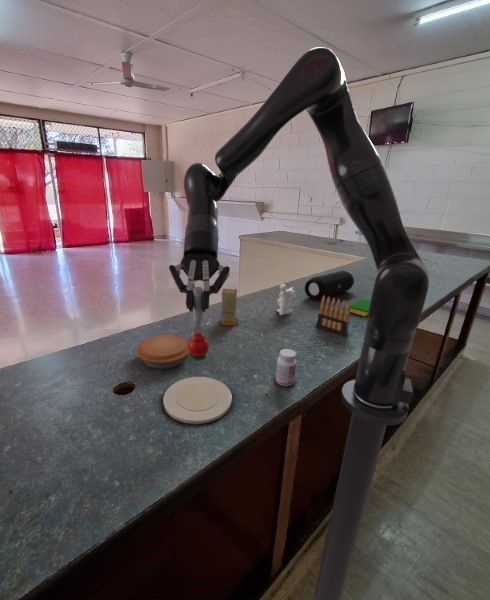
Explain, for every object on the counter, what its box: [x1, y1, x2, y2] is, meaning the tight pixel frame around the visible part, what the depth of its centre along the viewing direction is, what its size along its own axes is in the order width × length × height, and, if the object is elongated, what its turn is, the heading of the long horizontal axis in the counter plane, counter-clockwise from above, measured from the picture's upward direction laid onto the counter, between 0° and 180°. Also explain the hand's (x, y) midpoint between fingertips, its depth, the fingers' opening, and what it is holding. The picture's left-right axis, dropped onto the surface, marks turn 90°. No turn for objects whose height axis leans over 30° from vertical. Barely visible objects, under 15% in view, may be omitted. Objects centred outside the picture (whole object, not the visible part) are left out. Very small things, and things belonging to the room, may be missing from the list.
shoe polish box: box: [220, 288, 238, 327], centre depth 113 cm, size 5×5×12 cm
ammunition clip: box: [315, 295, 351, 336], centre depth 109 cm, size 11×2×12 cm, turn 49°
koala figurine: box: [276, 283, 297, 316], centre depth 123 cm, size 8×7×12 cm
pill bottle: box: [275, 348, 297, 387], centre depth 80 cm, size 5×5×8 cm
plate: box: [162, 376, 233, 425], centre depth 74 cm, size 16×16×1 cm
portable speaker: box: [304, 270, 355, 301], centre depth 144 cm, size 26×10×10 cm, turn 127°
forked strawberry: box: [188, 286, 210, 362], centre depth 67 cm, size 5×5×16 cm
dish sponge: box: [350, 297, 371, 317], centre depth 129 cm, size 7×14×2 cm, turn 137°
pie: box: [136, 334, 190, 370], centre depth 90 cm, size 15×16×5 cm
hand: (197, 310), depth 64 cm, fingers closed on forked strawberry
